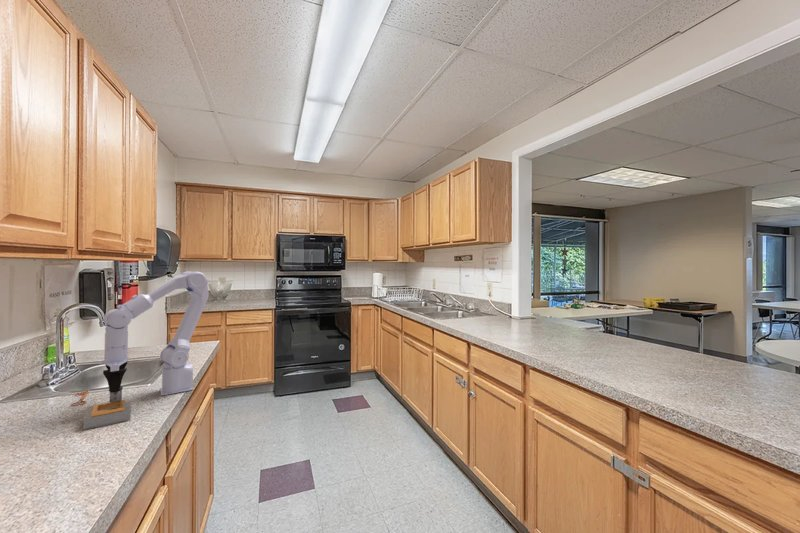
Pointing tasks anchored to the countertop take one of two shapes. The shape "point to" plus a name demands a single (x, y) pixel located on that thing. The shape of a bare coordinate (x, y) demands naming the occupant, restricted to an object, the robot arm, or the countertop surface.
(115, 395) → the peg
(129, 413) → the chuck block
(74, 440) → the countertop surface
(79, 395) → the key
